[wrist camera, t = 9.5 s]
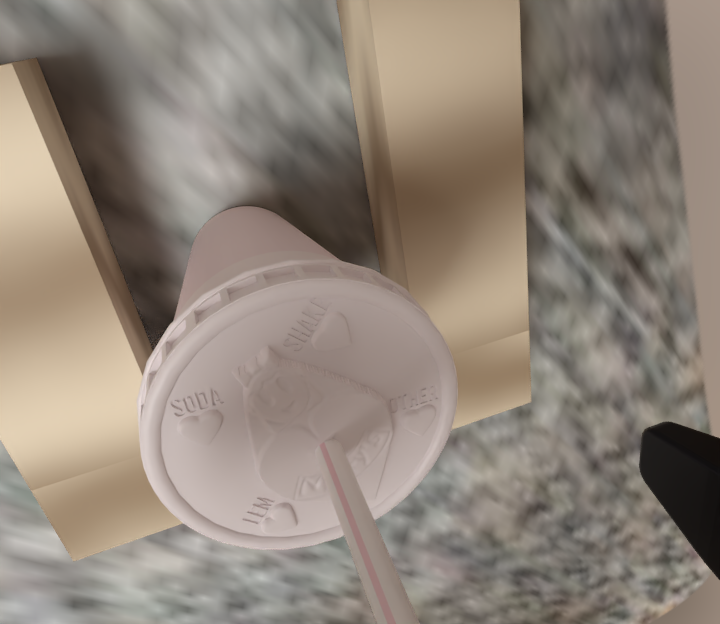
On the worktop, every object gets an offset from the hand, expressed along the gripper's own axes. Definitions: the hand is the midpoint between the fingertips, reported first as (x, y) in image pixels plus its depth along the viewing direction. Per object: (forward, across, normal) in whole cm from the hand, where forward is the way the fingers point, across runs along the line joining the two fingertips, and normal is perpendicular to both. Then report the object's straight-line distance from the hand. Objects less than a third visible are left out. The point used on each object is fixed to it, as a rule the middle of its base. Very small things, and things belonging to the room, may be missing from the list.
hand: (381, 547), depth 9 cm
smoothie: (+13, 0, 0) cm, 13 cm away
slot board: (+13, 0, 0) cm, 13 cm away
